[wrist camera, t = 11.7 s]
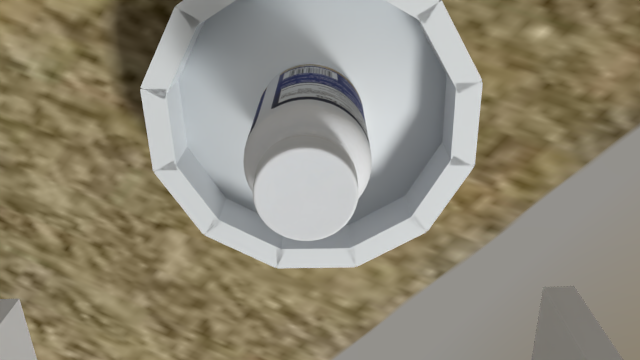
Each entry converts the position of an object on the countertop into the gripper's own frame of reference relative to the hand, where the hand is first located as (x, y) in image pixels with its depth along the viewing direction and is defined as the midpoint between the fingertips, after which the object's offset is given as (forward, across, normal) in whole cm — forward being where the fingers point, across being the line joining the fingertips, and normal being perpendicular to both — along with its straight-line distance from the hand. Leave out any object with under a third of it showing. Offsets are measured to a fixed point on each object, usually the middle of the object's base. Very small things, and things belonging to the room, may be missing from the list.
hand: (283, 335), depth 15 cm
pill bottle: (+18, +1, 0) cm, 18 cm away
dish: (+18, +1, 0) cm, 18 cm away
